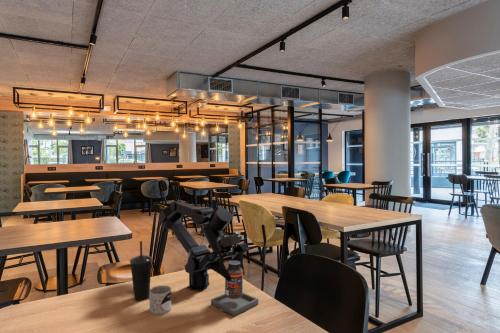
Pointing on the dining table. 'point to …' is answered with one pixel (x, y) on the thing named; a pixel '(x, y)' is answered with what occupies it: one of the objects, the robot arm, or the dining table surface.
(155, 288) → the mug
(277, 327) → the dining table surface
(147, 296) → the drinking cup
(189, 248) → the robot arm
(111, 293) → the dining table surface
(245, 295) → the tray
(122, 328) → the dining table surface
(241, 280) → the supplement bottle
